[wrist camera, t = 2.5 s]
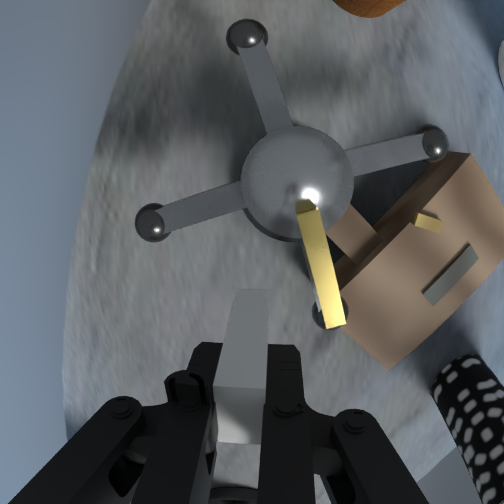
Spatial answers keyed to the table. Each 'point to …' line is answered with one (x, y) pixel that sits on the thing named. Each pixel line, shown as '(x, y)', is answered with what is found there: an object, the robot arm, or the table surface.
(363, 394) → the table surface
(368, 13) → the disposable coffee cup
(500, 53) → the decorative container
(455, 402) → the spotted tube
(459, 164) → the walnut stand
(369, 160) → the capstan
